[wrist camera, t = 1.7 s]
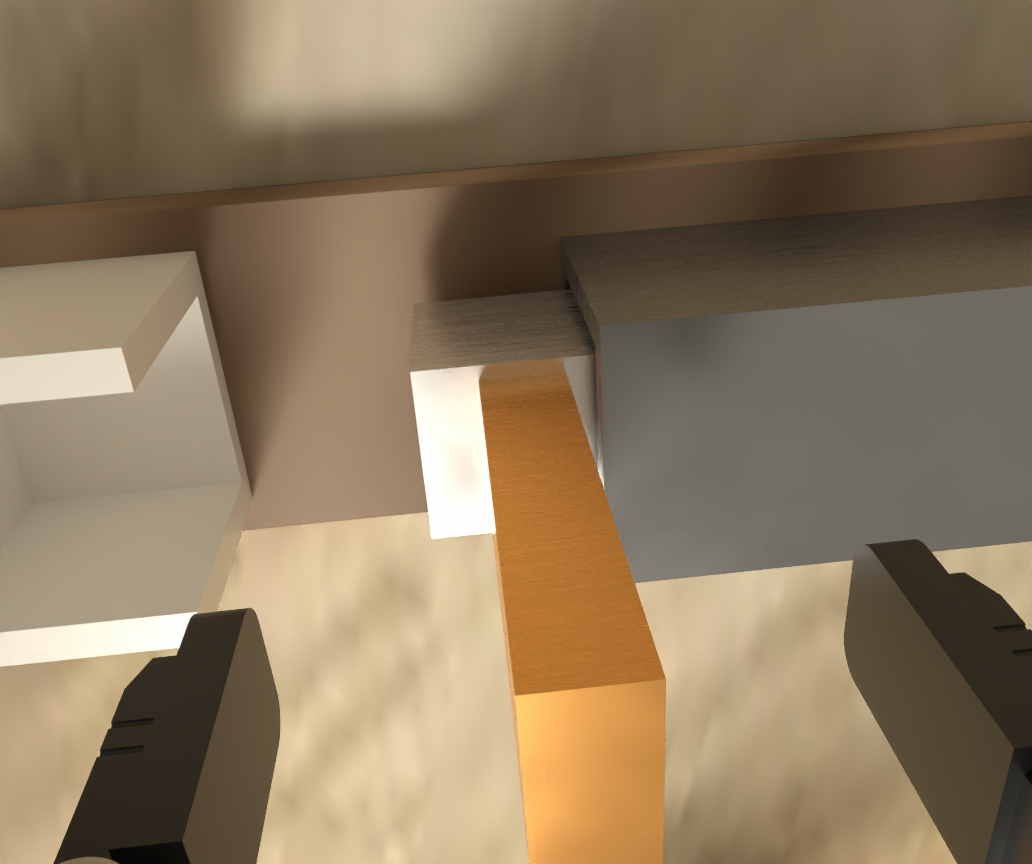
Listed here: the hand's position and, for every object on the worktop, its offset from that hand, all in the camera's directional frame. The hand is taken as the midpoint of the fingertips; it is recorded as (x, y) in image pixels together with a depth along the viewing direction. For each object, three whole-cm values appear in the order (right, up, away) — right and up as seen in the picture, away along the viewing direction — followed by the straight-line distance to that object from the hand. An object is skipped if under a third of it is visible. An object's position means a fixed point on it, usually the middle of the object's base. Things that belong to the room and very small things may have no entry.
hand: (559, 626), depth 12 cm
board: (0, +5, +10) cm, 12 cm away
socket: (-10, +3, +9) cm, 14 cm away
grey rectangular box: (+6, +5, +9) cm, 12 cm away
